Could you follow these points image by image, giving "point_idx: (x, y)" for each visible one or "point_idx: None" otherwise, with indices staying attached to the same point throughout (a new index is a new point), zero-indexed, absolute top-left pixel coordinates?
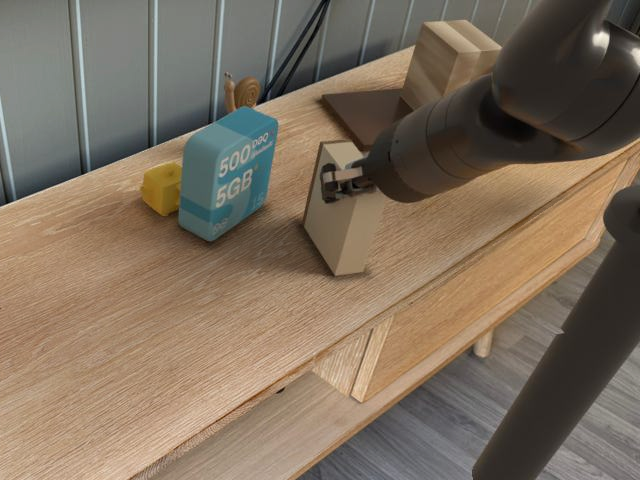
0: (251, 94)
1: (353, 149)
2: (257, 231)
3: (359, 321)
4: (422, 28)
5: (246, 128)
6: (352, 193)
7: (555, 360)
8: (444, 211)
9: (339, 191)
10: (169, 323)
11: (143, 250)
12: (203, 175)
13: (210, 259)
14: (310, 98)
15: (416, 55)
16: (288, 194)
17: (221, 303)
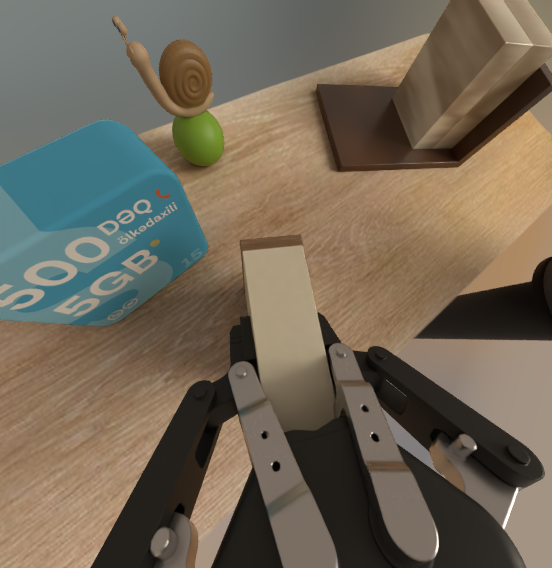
0: (193, 78)
1: (299, 270)
2: (188, 298)
3: None
4: None
5: (61, 201)
6: (250, 460)
7: None
8: (399, 272)
9: (234, 415)
10: (2, 497)
11: (23, 332)
12: None
13: (110, 352)
14: (306, 87)
15: (431, 42)
16: (243, 234)
17: (95, 446)
